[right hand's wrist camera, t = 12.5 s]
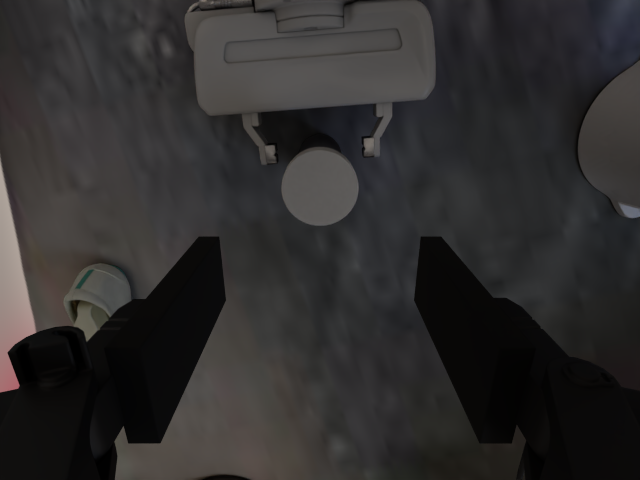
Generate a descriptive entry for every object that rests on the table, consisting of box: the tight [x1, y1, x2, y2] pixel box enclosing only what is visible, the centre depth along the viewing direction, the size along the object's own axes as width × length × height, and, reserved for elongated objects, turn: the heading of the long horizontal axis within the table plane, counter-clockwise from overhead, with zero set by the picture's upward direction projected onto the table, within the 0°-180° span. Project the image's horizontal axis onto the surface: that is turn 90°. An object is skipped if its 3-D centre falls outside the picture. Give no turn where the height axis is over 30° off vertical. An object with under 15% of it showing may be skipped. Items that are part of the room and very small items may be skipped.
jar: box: [298, 134, 342, 154], centre depth 34 cm, size 5×5×15 cm
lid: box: [282, 147, 359, 226], centre depth 27 cm, size 6×6×2 cm
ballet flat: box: [64, 263, 132, 341], centre depth 46 cm, size 8×24×8 cm, turn 3°
